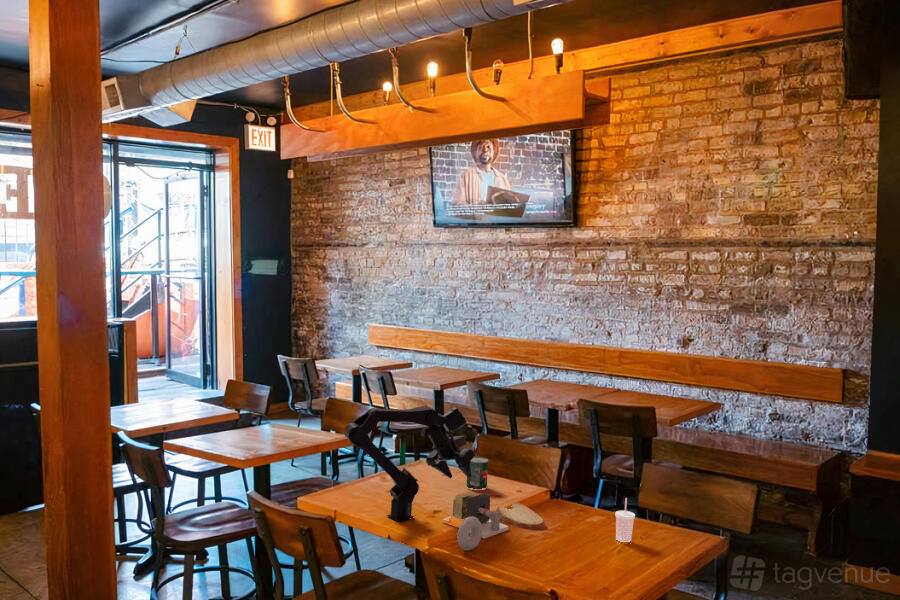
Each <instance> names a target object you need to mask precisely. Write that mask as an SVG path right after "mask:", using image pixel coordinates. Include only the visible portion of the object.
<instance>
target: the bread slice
mask: <svg viewBox="0 0 900 600" xmlns="http://www.w3.org/2000/svg"><path fill="white" fill-rule="evenodd" d="M511 504H512V506H511V509H507V508H501V507H502V506H497V507H496V510H497V512H500V520H501V521H502V522H504V523H506V524H509V525H510V526H515V527H517V528H520V529H526V530H535V531H539V530H540V531H541V530H545V529H547V526H546V523H545V521H544V519H543V518H542V517H541V516H540V515H539V514H538V513H537V512H536V511H534V510H532V509H530V508H529V507H528V506H525V505H524V504H522V503H521V502H515V503H511Z"/></svg>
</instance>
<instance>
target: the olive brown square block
mask: <svg viewBox="0 0 900 600" xmlns="http://www.w3.org/2000/svg"><path fill="white" fill-rule="evenodd" d="M477 495H478V493H477V492H475V491H472V490H468V491H466V492H463V493H459V494H456V495H455V497H454V499H455V517H456V518H458V519H465V518H467V508H466V502H467V500H468V498H471V497H474V496H477Z"/></svg>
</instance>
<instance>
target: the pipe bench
mask: <svg viewBox="0 0 900 600" xmlns="http://www.w3.org/2000/svg"><path fill="white" fill-rule="evenodd" d="M452 502H453V504H452V505H453V506H452V515H451V516H448V517H445V518H443V519H442V521H443V520H446V521H449V518H451V517H453V516H454V517H455V498H454V499H453V501H452ZM466 508H467V502H466ZM478 513H481V514H484V515H486V516H489V521H486V522H483V523H481V526H482V536H481V538H482V539H487V538H489V537H493V536H495V535H498V534H500V533H503V532H506V531H509V529H510V528H509V526H508V525H506V524H504V523H501V521H500V520H501V519H500V512H497V511H496V510H495V511H493V510H491V509H490V510H488V509H484V508H481V507H479V506H478ZM469 534H471V530H470V532H469Z"/></svg>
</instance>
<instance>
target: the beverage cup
mask: <svg viewBox="0 0 900 600" xmlns="http://www.w3.org/2000/svg"><path fill="white" fill-rule="evenodd" d="M624 500H625V501H624V510H617V511H615V515H614V516H615V541H616V540H618V541H620V542H630V541H631V542H632V536H633V529H634V521H635V517H636V514H635V513H634V512H632V511H629V510H627V504H628V497H625V499H624Z"/></svg>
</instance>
